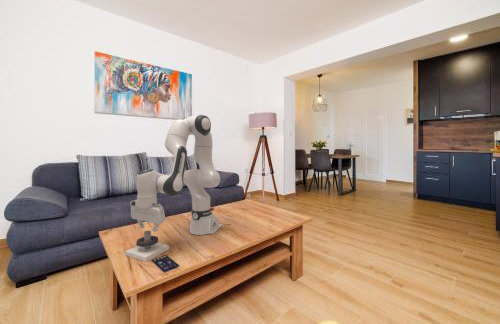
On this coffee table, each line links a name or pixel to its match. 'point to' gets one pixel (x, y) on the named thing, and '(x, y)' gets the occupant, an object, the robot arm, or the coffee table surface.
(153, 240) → the ring
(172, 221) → the coffee table surface
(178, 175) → the robot arm
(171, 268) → the smartphone
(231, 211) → the coffee table surface
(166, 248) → the pipe stand
